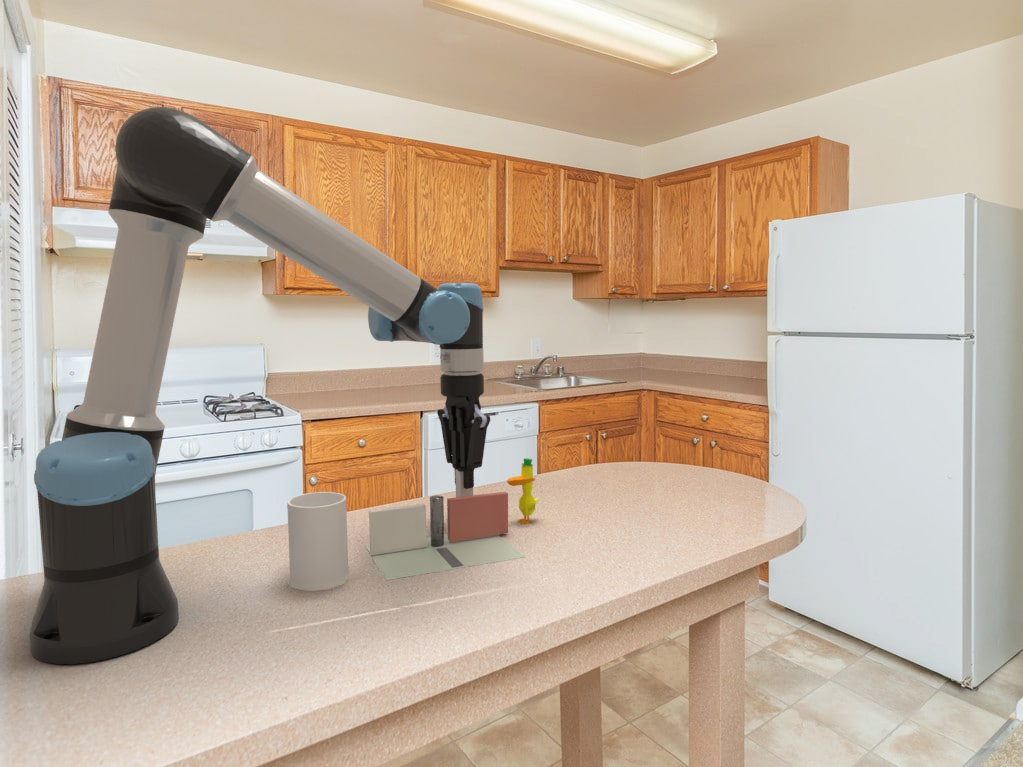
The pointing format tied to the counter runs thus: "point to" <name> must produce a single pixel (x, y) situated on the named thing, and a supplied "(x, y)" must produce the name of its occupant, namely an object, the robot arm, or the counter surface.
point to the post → (437, 521)
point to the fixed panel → (397, 529)
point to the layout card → (445, 556)
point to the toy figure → (525, 489)
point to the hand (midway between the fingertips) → (464, 504)
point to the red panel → (477, 516)
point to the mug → (318, 541)
